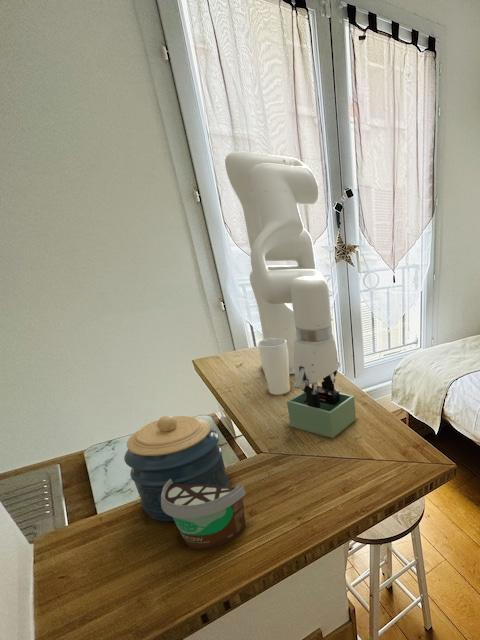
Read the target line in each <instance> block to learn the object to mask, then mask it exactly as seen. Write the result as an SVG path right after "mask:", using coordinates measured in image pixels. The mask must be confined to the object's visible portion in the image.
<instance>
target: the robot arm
mask: <svg viewBox="0 0 480 640" xmlns="http://www.w3.org/2000/svg"><path fill="white" fill-rule="evenodd" d="M224 163H225V164H224V167H225V171H226V175H227V178H228V181H229V183H230V185H231V187H232V189H233V191H234V193H235V194H236V197H237V198H238V200H239V202H240V205H241V207H242V211H243V216H244V222H245V226H246V232H247V237H248V245H249V248H250V250H251V251H250V265H251V272H250V273H249V283H250V286H251V289H252V292H253V295H254V298H255V301H256V305H257V309H258V315H259V320H260V327H261V331H262V338H263V339H268V338H281V339H284V340H286V343H287V348H288V357H289V375H294V379H295V380H296V381H295V383H294V388H295V389H297V390H301V391H302V392H306V396H307V404H308V406H311V407H315V408H319V407H320V398H319V393H317V386H318V384H319V383H318V382H320V381H321V386H323V387H328V388H332V389H335V383H336V376H337V374H338V370H339V369H340V367H341V363H340V362H339V358H338V351H337V345H336V341H335V340H336V339H335V337H334V334H333V325H332V324H333V323H332V314H331V302H330V290H329V289H330V288H329V284H328V282H327V279H326V277H325V276H324V275H323V274H322V273H321V271H319V270H317V263H316V256H315V249H314V243H313V239H312V236H311V234H310V232H309V231H308V230H307V228H304V227H305V226H304V222H303V220H302V216H301V213H300V209H299V206H298V205H315V204H317V203H318V201H319V198H320V187H319V183H318V180H317V177H316V175H315V174H314V172H313V171H312V169H311V168H310V167H309V166H308V165H307V164H305V163H304V162H303V161H301V160H300V159H298V158H295V157H292V156H291V157H290V156H285V155H284V156H283V155H274V154H268V153H263V152H251V151H233V152H230V153H228V154H227V155H226V156H225V159H224ZM288 261H289V262H293V261H294V262H296V263H297V264H296V265H295V264H294V265H292V264H291V265H283V264H282V265H267V263H266V262H288ZM289 304H292V306H291V305H289ZM263 339H262V340H263ZM261 367H262V371H263V372H264V370H263V366H262V365H261ZM310 384H311V386H310ZM311 387H312V388H311Z"/></svg>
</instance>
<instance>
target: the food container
mask: <svg viewBox="0 0 480 640" xmlns="http://www.w3.org/2000/svg"><path fill="white" fill-rule="evenodd" d="M246 494H247V491H246V490H245V487H244V486H243V485H242V483H239V484H238V485H237V486H235V487H230V486H229V487H220V486H215V485H209V484H193V485H187V484H174V483H173V482H172V480H171V479H169V480H168V481H167V483H166V484H165V485H164V488H163V491H162V494H161V507H162V509H163V511H164V512H165V513H166V514H168V515H169V516H172V517H173V519H174V521H173V522H174V524H175V525H176V527H177V529H178V531H179V533H180V535H181V537H182V539H183V541H184V543H186V544H187V546H188V547H191V548H193V549H199V550H204V549H212V548H215V547H219V546H221V545H225V544H226V543H228V542H230V541H232V540H233V539H234V538H236V537H238V535H240V534H241V533H242V532H243V531H244V530H245V529H246V518H245V516H246V515H245V505H244V497H245V495H246Z"/></svg>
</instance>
